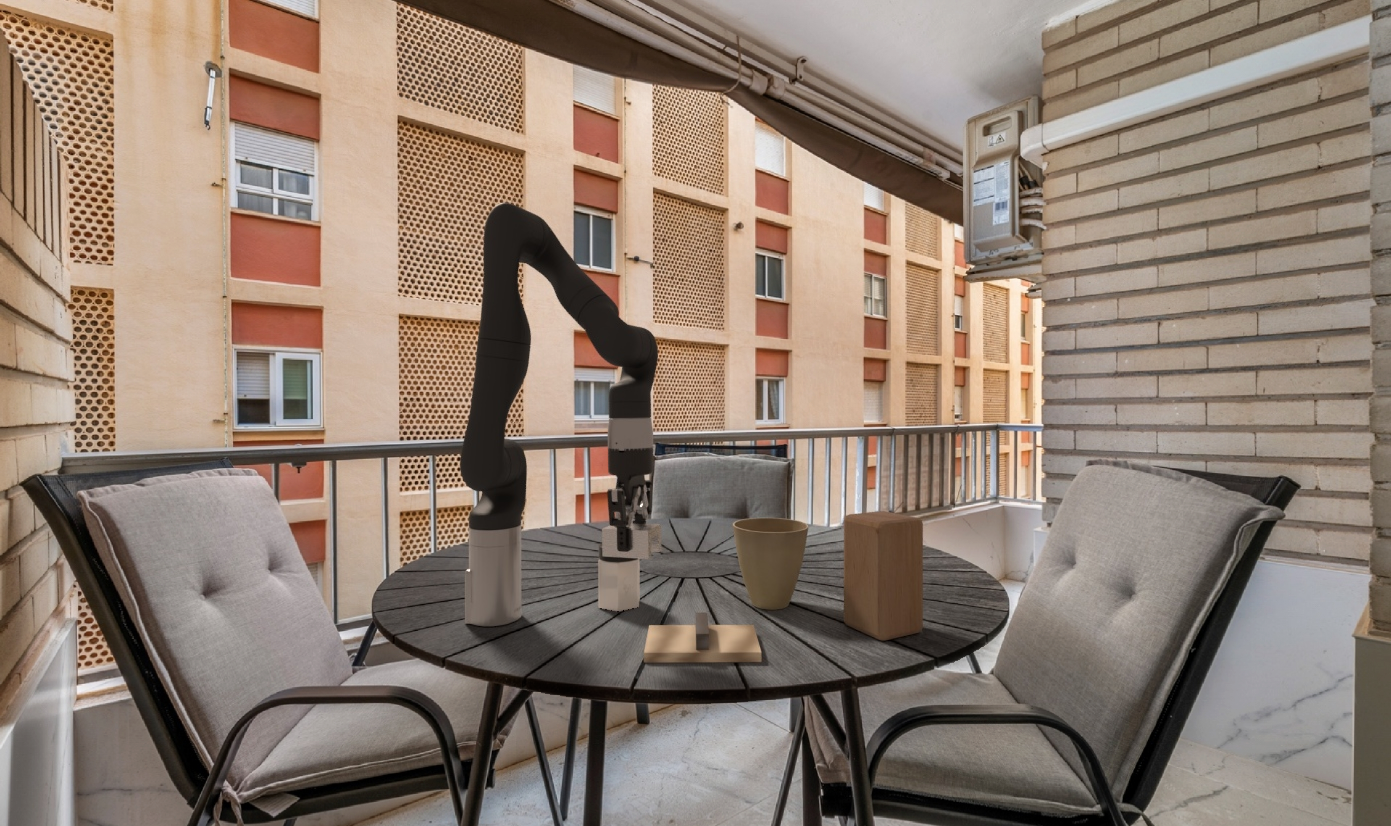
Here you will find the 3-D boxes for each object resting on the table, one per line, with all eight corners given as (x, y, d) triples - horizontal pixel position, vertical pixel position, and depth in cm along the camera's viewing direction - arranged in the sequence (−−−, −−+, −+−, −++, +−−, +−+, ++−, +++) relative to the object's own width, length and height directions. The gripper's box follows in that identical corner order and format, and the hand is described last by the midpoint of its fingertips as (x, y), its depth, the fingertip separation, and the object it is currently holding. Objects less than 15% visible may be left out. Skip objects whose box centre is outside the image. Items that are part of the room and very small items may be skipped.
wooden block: (882, 643, 102) (882, 523, 102) (841, 624, 111) (841, 513, 110) (925, 633, 106) (925, 518, 106) (882, 616, 115) (883, 509, 115)
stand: (643, 662, 94) (643, 636, 94) (649, 633, 106) (649, 610, 106) (761, 662, 94) (761, 636, 94) (753, 633, 106) (753, 610, 106)
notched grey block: (648, 558, 98) (648, 530, 98) (602, 556, 100) (602, 528, 100) (661, 550, 104) (660, 524, 104) (617, 548, 106) (617, 522, 106)
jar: (607, 614, 116) (607, 551, 116) (590, 603, 123) (590, 543, 123) (649, 606, 121) (649, 545, 121) (630, 595, 128) (630, 538, 128)
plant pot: (717, 604, 122) (717, 524, 122) (762, 588, 133) (762, 515, 133) (779, 622, 112) (779, 535, 112) (822, 603, 123) (822, 523, 123)
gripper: (626, 443, 110) (628, 537, 110) (590, 448, 96) (592, 555, 96) (666, 443, 108) (667, 539, 108) (635, 448, 94) (636, 558, 94)
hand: (632, 546), depth 102 cm, fingers closed on notched grey block, 6 cm apart
